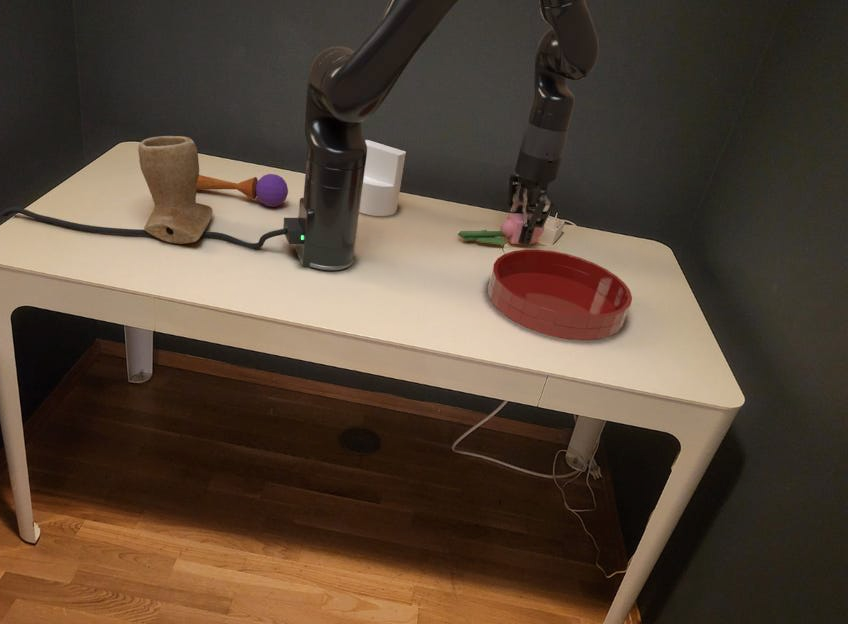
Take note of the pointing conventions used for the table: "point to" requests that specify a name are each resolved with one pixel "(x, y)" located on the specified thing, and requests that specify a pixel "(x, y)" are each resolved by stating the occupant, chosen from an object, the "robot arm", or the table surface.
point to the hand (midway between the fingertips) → (518, 237)
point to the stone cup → (173, 188)
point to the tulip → (502, 231)
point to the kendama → (252, 188)
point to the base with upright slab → (381, 179)
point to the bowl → (559, 294)
